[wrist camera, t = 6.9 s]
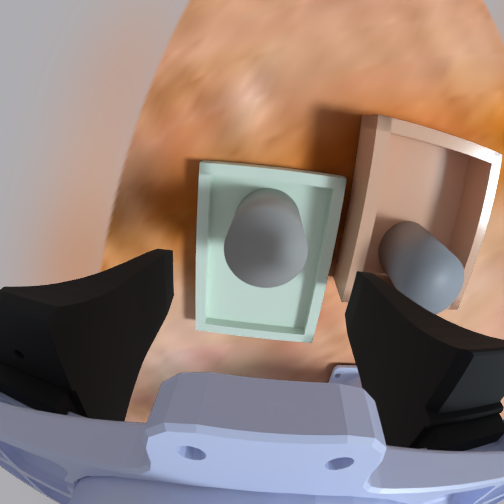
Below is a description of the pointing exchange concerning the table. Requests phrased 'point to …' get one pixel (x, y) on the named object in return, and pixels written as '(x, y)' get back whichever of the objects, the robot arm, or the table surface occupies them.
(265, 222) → the pebble
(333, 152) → the table surface
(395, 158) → the dish
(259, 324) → the parts tray
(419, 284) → the pebble
